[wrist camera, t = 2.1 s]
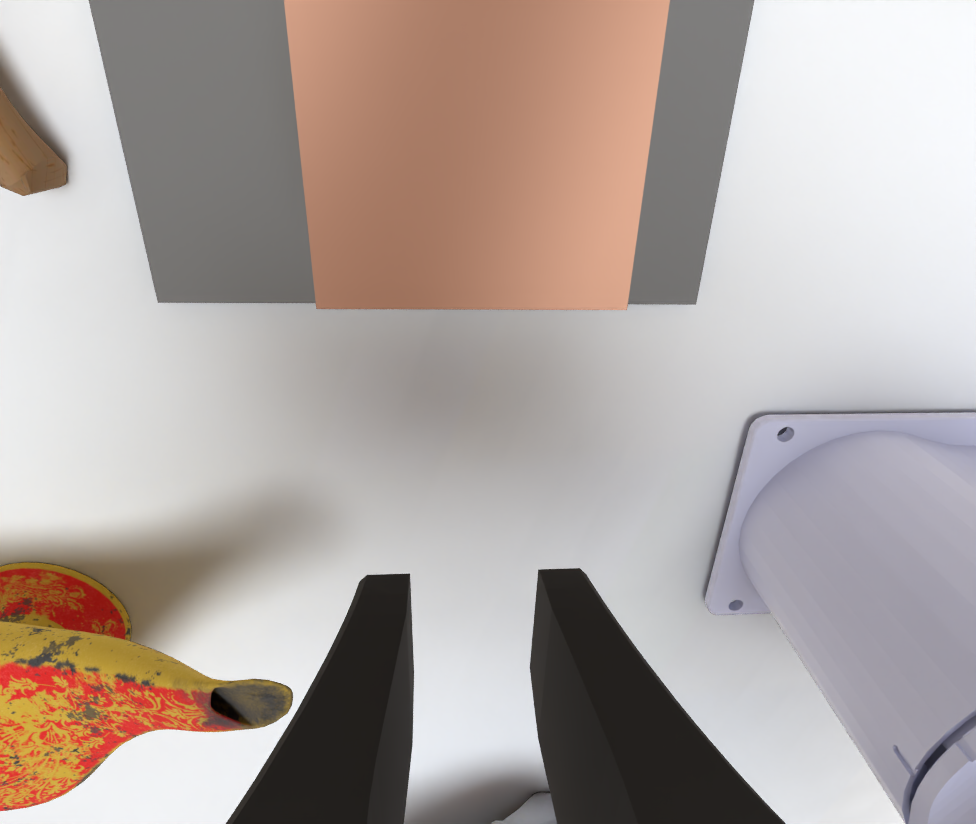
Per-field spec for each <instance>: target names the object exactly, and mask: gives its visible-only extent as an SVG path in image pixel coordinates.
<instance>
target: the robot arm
mask: <svg viewBox="0 0 976 824" xmlns="http://www.w3.org/2000/svg"><path fill="white" fill-rule="evenodd" d="M785 427H788V428H787V430H786V432H785V433H783V434H782V435H778V436H777V434H778V433H779V431H780V430H781V429H783V428H785ZM734 600H735V601H734ZM732 601H734V602H732ZM705 604H706V606H707V608H708V610H709V611H710V613H712V614H715V615H734V614H759V613H771V614H772V615H773V617H774V618H775V620H776V622H777V623H778V625H779V626H780V628H781V629H782V631H783V633H784V634H785V636H786V637H787V639H788V640H789V642H790V644H791V645H792V647H793V648H794V650H795V651H796V653H797V654H798V656H799V658H800V659H801V661H802V662H803V664H804V665H805V667H806V669H807V670H808V672H809V673H810V675H811V676H812V678H813V680H814V681H815V683H816V684H817V686H818V687H819V689H820V691H821V692H822V694H823V695H824V697H825V698H826V700H827V701H828V703H829V705H830V706H831V708H832V709H833V711H834V712H835V714H836V716H837V717H838V719H839V720H840V722H841V723H842V725H843V727H844V728H845V730H846V731H847V733H848V734H849V736H850V737H851V739H852V741H853V742H854V744H855V745H856V747H857V748H858V750H859V752H860V753H861V755H862V756H863V758H864V759H865V761H866V763H867V764H868V766H869V767H870V769H871V770H872V772H873V774H874V775H875V777H876V778H877V780H878V781H879V783H880V784H881V786H882V788H883V789H884V791H885V792H886V794H887V795H888V797H889V799H890V800H891V802H892V803H893V805H894V806H895V808H896V810H897V811H898V813H899V814H900V816H901V817H902V819H903V820H904V822H905V824H976V412H965V413H877V414H789V415H764V416H761V417H759V418H757V419H756V420H755V421H754V422H753V423H752V424H751V426H750V428H749V431H748V435H747V438H746V442H745V446H744V450H743V454H742V458H741V462H740V465H739V469H738V473H737V477H736V481H735V485H734V489H733V492H732V496H731V500H730V504H729V508H728V512H727V516H726V519H725V523H724V527H723V531H722V535H721V539H720V543H719V546H718V550H717V554H716V558H715V562H714V566H713V570H712V573H711V577H710V581H709V585H708V589H707V593H706V597H705ZM530 672H531V681H532V690H533V699H534V707H535V715H536V723H537V731H538V739H539V744H540V748H541V753H542V758H543V762H544V767H545V771H546V776H547V780H548V785H549V790H550V794H551V799H552V803H553V808H554V812H555V817H556V821H557V824H785V822H784V821H783V820H782V819H781V818H780V817H779V816H778V815H777V814H776V813H775V812H774V811H773V810H772V809H771V808H770V807H769V806H768V805H767V804H766V803H765V802H764V801H763V800H762V798H761V797H760V796H759V795H758V794H757V793H756V792H755V791H754V790H753V789H752V788H751V786H750V785H749V784H748V783H747V782H746V781H745V780H744V779H743V778H742V777H741V775H740V774H739V773H738V772H737V771H736V770H735V769H734V768H733V767H732V765H731V764H730V763H729V762H728V761H727V760H726V759H725V757H724V756H723V755H722V754H721V753H720V752H719V750H718V749H717V748H716V747H715V746H714V745H713V743H712V742H711V741H710V740H709V739H708V738H707V736H706V735H705V734H704V733H703V732H702V731H701V729H700V728H699V727H698V726H697V725H696V724H695V722H694V721H693V720H692V719H691V717H690V716H689V715H688V714H687V713H686V711H685V710H684V709H683V708H682V706H681V705H680V704H679V703H678V702H677V700H676V699H675V698H674V696H673V695H672V694H671V693H670V691H669V690H668V689H667V687H666V686H665V685H664V684H663V682H662V681H661V680H660V678H659V677H658V676H657V675H656V673H655V672H654V671H653V669H652V668H651V667H650V666H649V664H648V663H647V662H646V660H645V659H644V658H643V656H642V655H641V654H640V652H639V651H638V650H637V648H636V647H635V645H634V644H633V643H632V641H631V640H630V639H629V637H628V636H627V634H626V633H625V632H624V630H623V629H622V627H621V626H620V625H619V623H618V622H617V620H616V619H615V617H614V616H613V614H612V613H611V612H610V610H609V609H608V607H607V606H606V604H605V603H604V601H603V600H602V598H601V597H600V595H599V594H598V592H597V591H596V589H595V588H594V586H593V584H592V583H591V581H590V580H589V578H588V577H587V575H586V574H585V573H584V572H583V571H582V570H581V569H580V568H576V569H544V570H538V581H537V592H536V603H535V615H534V626H533V638H532V649H531V661H530ZM413 692H414V663H413V638H412V613H411V588H410V574H386V575H367V576H366V577H364V578H363V579H362V580H361V581H360V582H359V585H358V587H357V590H356V593H355V596H354V598H353V601H352V603H351V606H350V608H349V610H348V613H347V615H346V617H345V619H344V622H343V624H342V626H341V628H340V630H339V632H338V634H337V636H336V638H335V640H334V643H333V645H332V647H331V649H330V651H329V653H328V655H327V657H326V659H325V661H324V662H323V664H322V666H321V668H320V670H319V672H318V673H317V675H316V677H315V679H314V681H313V683H312V684H311V686H310V688H309V690H308V692H307V694H306V695H305V697H304V699H303V701H302V703H301V705H300V706H299V708H298V710H297V712H296V713H295V715H294V717H293V719H292V720H291V722H290V724H289V725H288V727H287V728H286V730H285V732H284V733H283V735H282V737H281V738H280V740H279V742H278V743H277V745H276V746H275V748H274V750H273V751H272V753H271V755H270V756H269V758H268V759H267V761H266V763H265V764H264V766H263V768H262V769H261V771H260V772H259V774H258V776H257V777H256V779H255V781H254V782H253V784H252V785H251V787H250V788H249V790H248V791H247V793H246V794H245V796H244V797H243V799H242V800H241V802H240V803H239V805H238V806H237V808H236V809H235V811H234V812H233V814H232V815H231V817H230V818H229V820H228V821H227V823H226V824H404V816H405V807H406V798H407V789H408V780H409V771H410V762H411V752H412V738H413Z"/></svg>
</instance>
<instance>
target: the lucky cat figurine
mask: <svg viewBox="0 0 976 824" xmlns="http://www.w3.org/2000/svg"><path fill="white" fill-rule="evenodd" d="M491 824H557V821H556V817H555V812H554V808H553V803H552V799H551V794H550V793H545V792H539V793H536V794H533V795H532V797H531V798H529V799H528V800H527V801H526V802H525V803H524V804H523V805H522V806H521V807H520V808H519V809H518V810H517V811H515V812H514V813H513V814H511V815H510V816H508V817H507V818H506V819H504V820H503V821H497V820H494V821H493V822H492V823H491Z"/></svg>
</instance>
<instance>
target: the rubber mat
mask: <svg viewBox="0 0 976 824" xmlns="http://www.w3.org/2000/svg"><path fill="white" fill-rule="evenodd" d="M89 3H90V8H91V12H92V17H93V21H94V25H95V30H96V34H97V38H98V43H99V47H100V52H101V56H102V60H103V65H104V69H105V73H106V78H107V82H108V86H109V91H110V95H111V100H112V104H113V108H114V113H115V117H116V121H117V126H118V130H119V135H120V139H121V143H122V148H123V152H124V156H125V161H126V165H127V170H128V174H129V178H130V183H131V187H132V191H133V196H134V200H135V204H136V209H137V213H138V218H139V222H140V226H141V231H142V235H143V239H144V244H145V248H146V253H147V257H148V261H149V266H150V270H151V274H152V279H153V283H154V287H155V292H156V296H157V301H158V303H316V300H315V290H314V281H313V271H312V262H311V252H310V243H309V233H308V224H307V214H306V205H305V195H304V186H303V176H302V167H301V157H300V148H299V138H298V129H297V119H296V110H295V100H294V91H293V81H292V72H291V62H290V53H289V43H288V34H287V24H286V15H285V5H284V0H89ZM753 5H754V0H670V3H669V10H668V18H667V25H666V32H665V39H664V46H663V54H662V61H661V68H660V75H659V82H658V90H657V97H656V104H655V111H654V118H653V126H652V133H651V140H650V147H649V154H648V162H647V169H646V176H645V183H644V190H643V198H642V205H641V212H640V219H639V226H638V234H637V241H636V248H635V255H634V262H633V270H632V277H631V284H630V291H629V298H628V304H696V301H697V296H698V291H699V285H700V280H701V275H702V270H703V265H704V259H705V254H706V249H707V244H708V239H709V233H710V228H711V223H712V218H713V213H714V207H715V202H716V197H717V192H718V187H719V181H720V176H721V171H722V166H723V161H724V155H725V150H726V145H727V140H728V135H729V129H730V124H731V119H732V114H733V109H734V103H735V98H736V93H737V88H738V83H739V77H740V72H741V67H742V62H743V57H744V51H745V46H746V41H747V36H748V31H749V25H750V20H751V15H752V10H753Z"/></svg>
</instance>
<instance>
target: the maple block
mask: <svg viewBox="0 0 976 824" xmlns="http://www.w3.org/2000/svg"><path fill="white" fill-rule="evenodd" d="M669 3H670V0H284V5H285V15H286V24H287V34H288V43H289V53H290V62H291V72H292V81H293V91H294V100H295V110H296V119H297V129H298V138H299V148H300V157H301V167H302V176H303V186H304V195H305V205H306V214H307V224H308V233H309V243H310V252H311V262H312V271H313V281H314V290H315V300H316V309H511V310H627V306H628V298H629V291H630V284H631V277H632V270H633V262H634V255H635V248H636V241H637V234H638V226H639V219H640V212H641V205H642V198H643V190H644V183H645V176H646V169H647V162H648V154H649V147H650V140H651V133H652V126H653V118H654V111H655V104H656V97H657V90H658V82H659V75H660V68H661V61H662V54H663V46H664V39H665V32H666V25H667V18H668V10H669Z"/></svg>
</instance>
